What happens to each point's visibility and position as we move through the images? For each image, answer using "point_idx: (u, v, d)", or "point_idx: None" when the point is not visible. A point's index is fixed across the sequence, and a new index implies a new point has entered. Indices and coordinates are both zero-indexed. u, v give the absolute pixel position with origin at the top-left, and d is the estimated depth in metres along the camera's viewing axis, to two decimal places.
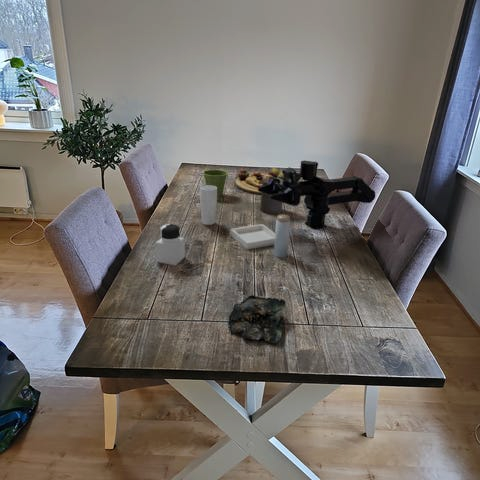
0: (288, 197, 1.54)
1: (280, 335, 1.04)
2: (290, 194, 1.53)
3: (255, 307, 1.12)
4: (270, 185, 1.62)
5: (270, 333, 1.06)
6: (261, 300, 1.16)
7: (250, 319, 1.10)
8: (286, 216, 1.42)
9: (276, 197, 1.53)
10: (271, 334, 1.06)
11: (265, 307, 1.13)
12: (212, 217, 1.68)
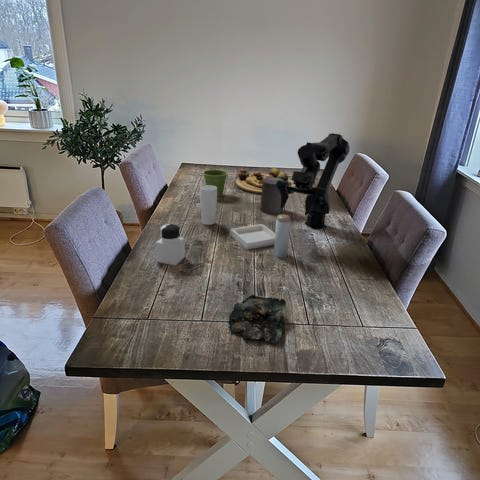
0: (317, 200, 1.47)
1: (280, 335, 1.04)
2: (319, 198, 1.46)
3: (255, 307, 1.12)
4: (285, 194, 1.51)
5: (270, 333, 1.06)
6: (262, 300, 1.16)
7: (250, 319, 1.10)
8: (286, 216, 1.42)
9: (309, 210, 1.47)
10: (271, 334, 1.06)
11: (265, 307, 1.13)
12: (212, 217, 1.68)
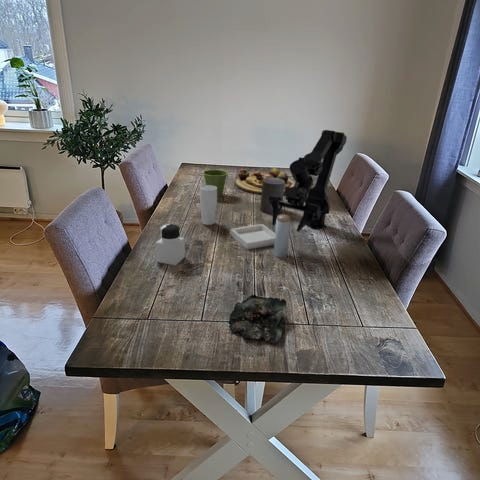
0: (309, 216, 1.44)
1: (280, 335, 1.05)
2: (311, 214, 1.43)
3: (256, 306, 1.12)
4: (277, 209, 1.48)
5: (270, 333, 1.06)
6: (262, 300, 1.17)
7: (251, 318, 1.10)
8: (286, 216, 1.42)
9: (301, 227, 1.44)
10: (271, 334, 1.06)
11: (266, 307, 1.13)
12: (212, 217, 1.68)
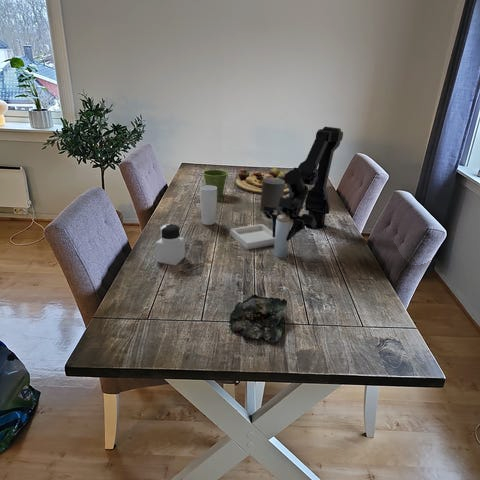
0: (299, 225, 1.44)
1: (280, 335, 1.05)
2: (301, 224, 1.42)
3: (257, 306, 1.12)
4: None
5: (270, 332, 1.06)
6: (263, 299, 1.17)
7: (251, 318, 1.10)
8: (286, 216, 1.42)
9: (291, 236, 1.43)
10: (271, 333, 1.06)
11: (267, 306, 1.13)
12: (212, 217, 1.68)
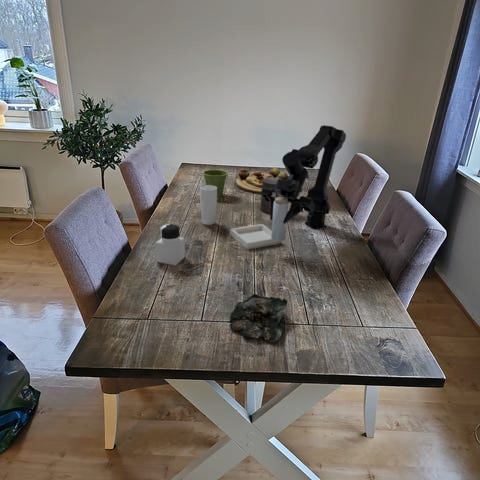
0: (296, 208, 1.42)
1: (280, 334, 1.05)
2: (298, 206, 1.40)
3: (257, 306, 1.12)
4: None
5: (270, 332, 1.06)
6: (264, 299, 1.17)
7: (251, 317, 1.10)
8: (284, 198, 1.41)
9: (288, 219, 1.42)
10: (271, 333, 1.06)
11: (267, 306, 1.13)
12: (212, 217, 1.68)
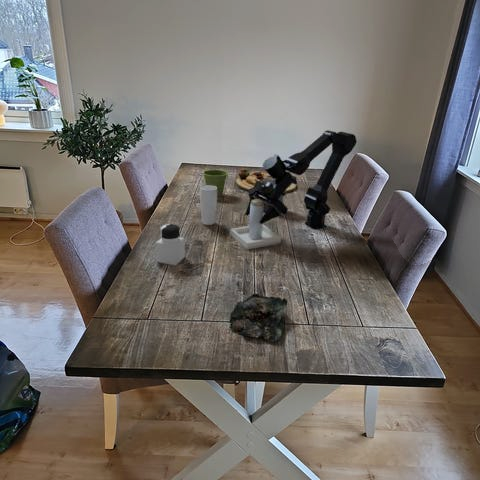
0: (274, 211, 1.50)
1: (280, 334, 1.05)
2: (274, 210, 1.49)
3: (257, 305, 1.13)
4: None
5: (270, 331, 1.07)
6: (264, 299, 1.17)
7: (251, 317, 1.11)
8: (259, 201, 1.53)
9: (264, 220, 1.51)
10: (271, 332, 1.06)
11: (267, 306, 1.13)
12: (212, 217, 1.68)
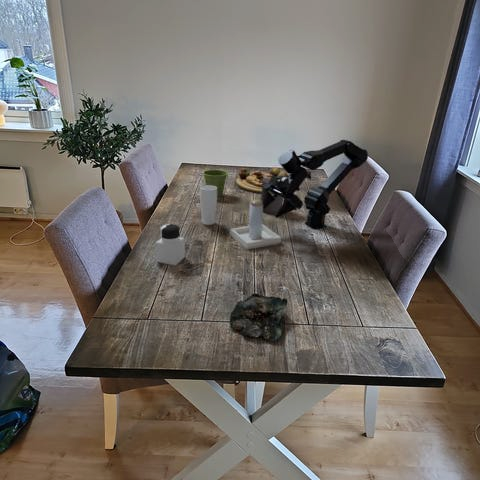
0: (290, 205, 1.53)
1: (280, 333, 1.05)
2: (290, 204, 1.52)
3: (257, 305, 1.13)
4: (268, 196, 1.61)
5: (270, 331, 1.07)
6: (264, 298, 1.17)
7: (251, 317, 1.11)
8: (259, 201, 1.52)
9: (280, 214, 1.54)
10: (271, 332, 1.06)
11: (267, 305, 1.13)
12: (212, 217, 1.68)
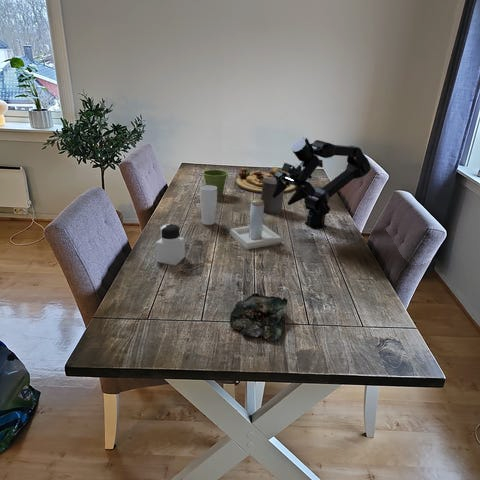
0: (302, 192, 1.54)
1: (280, 333, 1.05)
2: (302, 191, 1.52)
3: (257, 305, 1.13)
4: (280, 184, 1.62)
5: (270, 331, 1.07)
6: (264, 298, 1.17)
7: (251, 316, 1.11)
8: (260, 201, 1.53)
9: (292, 201, 1.55)
10: (271, 332, 1.06)
11: (267, 305, 1.14)
12: (212, 217, 1.68)
